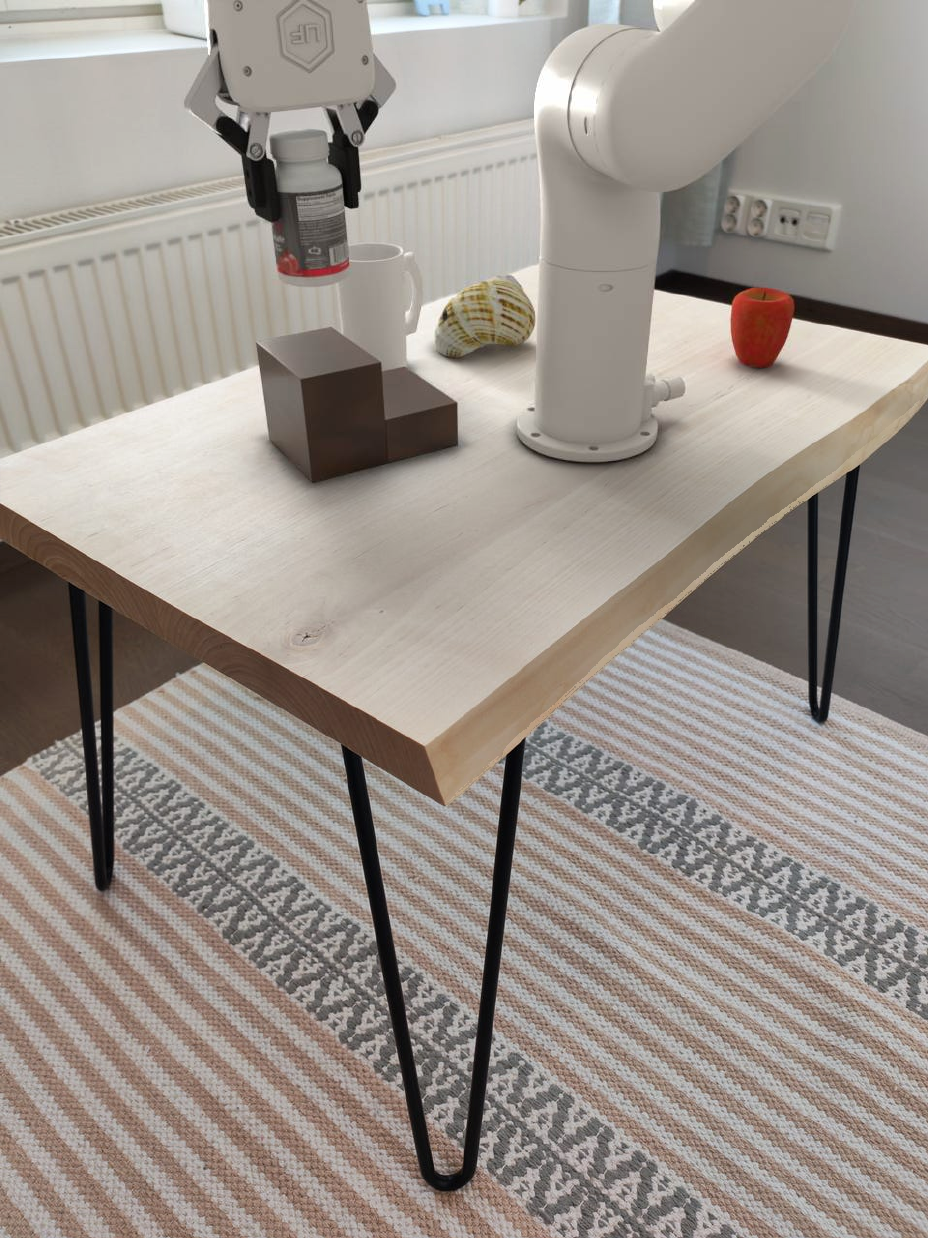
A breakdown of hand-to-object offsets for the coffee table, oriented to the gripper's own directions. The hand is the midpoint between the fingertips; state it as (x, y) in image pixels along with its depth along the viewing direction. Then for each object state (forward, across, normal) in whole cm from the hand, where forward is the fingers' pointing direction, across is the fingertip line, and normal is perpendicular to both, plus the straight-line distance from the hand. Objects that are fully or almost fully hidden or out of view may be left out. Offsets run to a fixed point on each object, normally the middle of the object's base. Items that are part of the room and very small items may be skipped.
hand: (307, 208), depth 70 cm
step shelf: (+21, +5, +4) cm, 22 cm away
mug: (+21, +15, +19) cm, 33 cm away
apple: (+22, +48, -1) cm, 53 cm away
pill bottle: (+5, 0, 0) cm, 5 cm away
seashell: (+22, +27, +19) cm, 40 cm away
